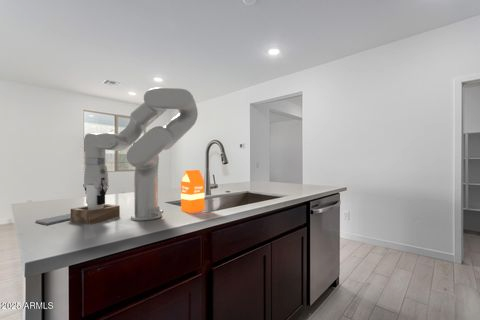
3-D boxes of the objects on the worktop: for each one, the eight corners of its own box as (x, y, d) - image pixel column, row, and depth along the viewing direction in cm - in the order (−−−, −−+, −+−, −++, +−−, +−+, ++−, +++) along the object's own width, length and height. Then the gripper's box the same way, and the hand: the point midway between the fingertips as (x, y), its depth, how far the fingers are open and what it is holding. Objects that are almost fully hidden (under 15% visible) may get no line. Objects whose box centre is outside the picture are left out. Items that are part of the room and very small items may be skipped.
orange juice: (180, 210, 115) (180, 170, 115) (195, 207, 121) (194, 169, 121) (190, 212, 110) (190, 170, 109) (204, 209, 116) (204, 170, 116)
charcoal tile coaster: (84, 216, 103) (84, 215, 103) (47, 225, 91) (47, 223, 91) (72, 214, 107) (72, 213, 107) (35, 222, 94) (35, 220, 94)
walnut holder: (119, 216, 103) (119, 205, 103) (89, 224, 91) (89, 211, 91) (101, 214, 108) (100, 203, 108) (70, 220, 97) (70, 208, 97)
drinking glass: (96, 221, 96) (95, 185, 96) (82, 220, 97) (82, 184, 97) (108, 217, 102) (108, 183, 102) (95, 216, 104) (95, 183, 104)
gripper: (116, 162, 99) (117, 203, 99) (91, 162, 107) (92, 200, 107) (99, 162, 92) (100, 207, 93) (74, 162, 100) (74, 203, 100)
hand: (95, 203), depth 100 cm, fingers closed on drinking glass, 6 cm apart
